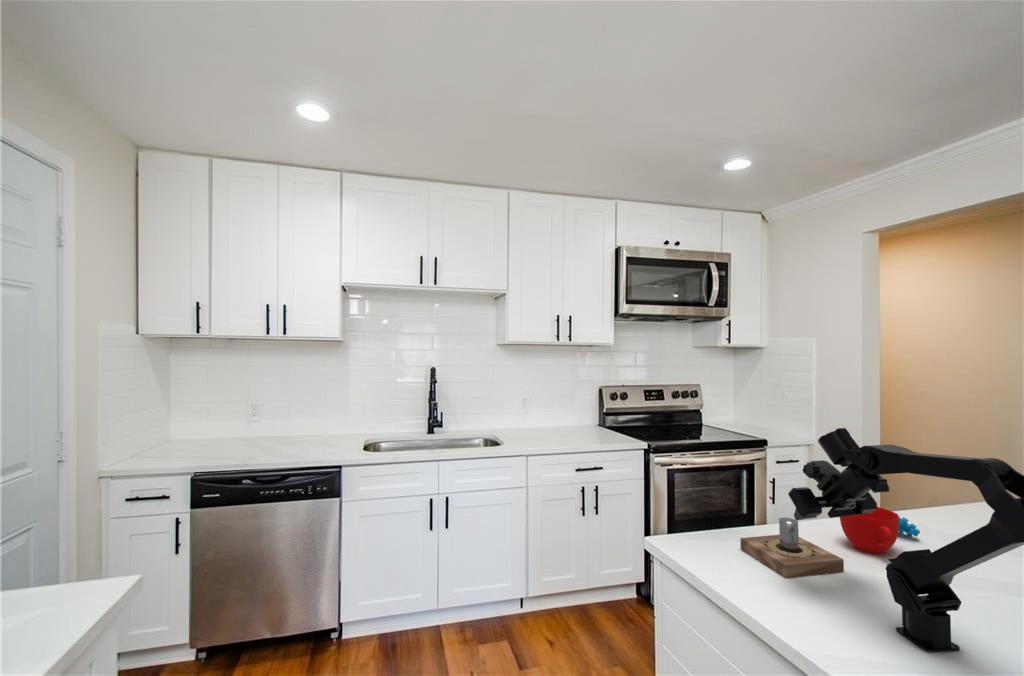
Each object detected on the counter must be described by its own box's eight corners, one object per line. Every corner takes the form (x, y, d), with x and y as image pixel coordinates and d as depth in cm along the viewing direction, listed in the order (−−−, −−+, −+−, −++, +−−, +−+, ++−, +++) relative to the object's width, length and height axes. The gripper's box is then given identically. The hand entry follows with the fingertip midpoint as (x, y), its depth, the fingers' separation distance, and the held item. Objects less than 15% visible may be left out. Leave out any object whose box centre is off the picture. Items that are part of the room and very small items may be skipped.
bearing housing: (843, 571, 112) (843, 559, 112) (785, 578, 109) (785, 565, 109) (792, 544, 127) (792, 533, 127) (740, 549, 125) (740, 538, 125)
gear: (930, 536, 128) (903, 511, 128) (919, 553, 127) (891, 527, 127) (893, 527, 139) (868, 503, 139) (883, 542, 138) (858, 518, 138)
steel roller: (800, 565, 115) (799, 524, 115) (780, 561, 117) (779, 522, 117) (798, 558, 119) (797, 519, 119) (779, 555, 121) (778, 516, 121)
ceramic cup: (860, 563, 116) (859, 523, 116) (831, 537, 132) (830, 501, 132) (921, 569, 113) (920, 527, 113) (883, 541, 129) (882, 505, 129)
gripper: (864, 450, 108) (825, 484, 118) (793, 453, 105) (760, 488, 115) (898, 494, 100) (854, 527, 110) (823, 499, 97) (784, 532, 107)
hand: (812, 517), depth 111 cm, fingers open, 9 cm apart
